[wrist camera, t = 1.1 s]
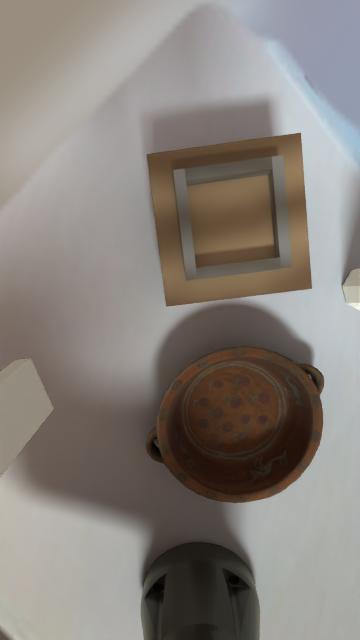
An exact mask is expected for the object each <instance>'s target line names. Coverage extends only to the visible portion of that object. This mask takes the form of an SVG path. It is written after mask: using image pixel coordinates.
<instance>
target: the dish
mask: <svg viewBox="0 0 360 640" xmlns="http://www.w3.org/2000/svg"><path fill="white" fill-rule="evenodd" d="M307 373H308V374H310V376H311V378H312V379H311V378H310V376H309V375H308V374H307ZM323 387H324V377H323V375H322V373H321V372H320V371H319V370H318V369H317V368H315V367H313V366H310V365H307V364H296V363H294V362H293V361H292V360H290V359H288V358H286V357H284V356H282V355H280V354H278V353H275V352H272V351H268V350H265V349H260V348H253V347H233V348H228V349H224V350H219V351H216V352H213V353H210V354H208V355H206V356H204V357H202V358H200V359H198V360H196V361H195V362H193V363H192V364H190V365H189V366H188V367H187V368H186V369H184V370H183V371H182V372H181V373H180V374H179V375H178V376H177V377H176V378H175V380H174V381H173V382H172V383H171V385H170V386H169V388H168V390H167V392H166V394H165V395H164V397H163V400H162V402H161V405H160V408H159V412H158V415H157V423H156V427H155V428H154V429H153V430H152V431H151V432H150V434H149V436H148V439H147V443H146V448H147V452H148V454H149V455H150V456H151V457H152V458H153V459H154V460H156V461H158V462H161V463H165V465H166V466H167V468H168V469H169V470H170V472H171V473H172V474H173V475H174V476H175V477H176V478H177V479H178V480H179V481H180V482H181V483H182V484H183V485H184V486H186V487H187V488H189V489H190V490H192V491H194V492H195V493H197V494H199V495H202V496H204V497H207V498H209V499H213V500H216V501H222V502H232V503H243V502H250V501H255V500H261V499H265V498H269V497H271V496H273V495H275V494H278V493H280V492H281V491H283V490H284V489H286V488H287V487H288V486H289V485H290V484H292V483H293V482H295V481H296V480H297V479H298V478H299V477H300V476H301V474H302V473H303V472H304V471H305V470H306V468H307V467H308V466H309V465H310V463H311V461H312V459H313V457H314V456H315V453H316V451H317V449H318V447H319V444H320V440H321V436H322V428H323V411H322V403H321V400H320V394H321V392H322V389H323ZM156 438H157V439H158V446H159V448H158V447H157V446H156V445H155V444H154V440H155V439H156Z"/></svg>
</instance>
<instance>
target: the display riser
mask: <svg viewBox="0 0 360 640" xmlns="http://www.w3.org/2000/svg"><path fill="white" fill-rule="evenodd" d="M147 161H148V169H149V176H150V184H151V192H152V199H153V207H154V215H155V223H156V230H157V238H158V246H159V254H160V261H161V269H162V277H163V284H164V292H165V300H166V307H167V306H175V305H183V304H191V303H199V302H207V301H215V300H223V299H232V298H240V297H248V296H256V295H264V294H272V293H280V292H288V291H296V290H304V289H312V283H311V269H310V255H309V241H308V227H307V213H306V199H305V185H304V171H303V157H302V143H301V133H296V134H289V135H282V136H274V137H267V138H260V139H253V140H246V141H239V142H231V143H224V144H217V145H210V146H203V147H195V148H188V149H181V150H174V151H167V152H159V153H152V154H147Z"/></svg>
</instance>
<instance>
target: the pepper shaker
mask: <svg viewBox="0 0 360 640" xmlns="http://www.w3.org/2000/svg"><path fill="white" fill-rule="evenodd" d="M342 287H343V291H344V295H345V299H346V303H347V304H349V305H351V306H353V307H355V308H357V309H358V310H360V268H357V269H354V270H351V272H350V274H349V276H348V277H347V279H346V281H345V283H344V284H343V286H342Z"/></svg>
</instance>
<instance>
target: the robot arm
mask: <svg viewBox="0 0 360 640" xmlns="http://www.w3.org/2000/svg"><path fill="white" fill-rule="evenodd" d="M53 409H54V408H53V406H52V403H51V401H50V399H49V397H48V395H47V392H46V390H45V388H44V386H43V384H42V382H41V379H40V377H39V375H38V373H37V371H36V368H35V366H34V364H33V362H32V360H31V358H27V359H19V360H14V361H13V362H12V363H11V364H9V365H8V366H7V367H5V368H4V369H3V370H2V371H0V477H1V476H2V474H3V473H4V472H5V471H6V469H7V468H8V467H9V465H10V464H11V463H12V462H13V460H14V459H15V458H16V456H17V455H18V454H19V453H20V451H21V450H22V449H23V448H24V446H25V445H26V444H27V442H28V441H29V440H30V439H31V437H32V436H33V435H34V433H35V432H36V431H37V430H38V428H39V427H40V426H41V425H42V423H43V422H44V421H45V419H46V418H47V417H48V416H49V414H50V413H51V412H52V410H53ZM141 620H142V628H143V636H144V640H259V636H260V606H259V599H258V595H257V591H256V587H255V583H254V579H253V577H252V574H251V572H250V570H249V569H248V567H247V566H246V565H245V563H244V562H243V561H242V560H241V559H240V558H239V557H238V556H236V555H235V554H234V553H232V552H231V551H229V550H227V549H225V548H222V547H220V546H217V545H213V544H207V543H190V544H185V545H181V546H178V547H175V548H173V549H171V550H169V551H167V552H166V553H164V554H163V555H162V556H160V557H159V558H158V559H157V560H156V561H155V562H154V563H153V565H152V566H151V568H150V569H149V571H148V573H147V575H146V578H145V581H144V586H143V593H142V601H141Z"/></svg>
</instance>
